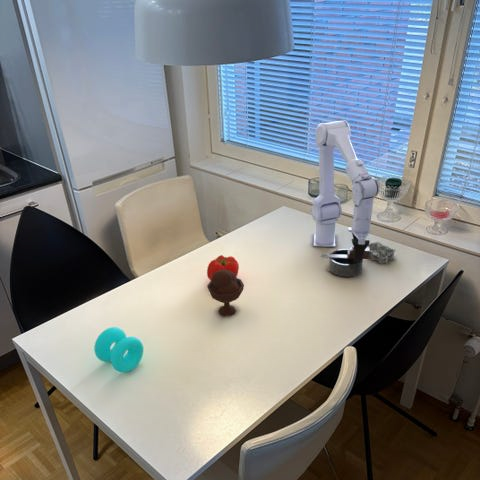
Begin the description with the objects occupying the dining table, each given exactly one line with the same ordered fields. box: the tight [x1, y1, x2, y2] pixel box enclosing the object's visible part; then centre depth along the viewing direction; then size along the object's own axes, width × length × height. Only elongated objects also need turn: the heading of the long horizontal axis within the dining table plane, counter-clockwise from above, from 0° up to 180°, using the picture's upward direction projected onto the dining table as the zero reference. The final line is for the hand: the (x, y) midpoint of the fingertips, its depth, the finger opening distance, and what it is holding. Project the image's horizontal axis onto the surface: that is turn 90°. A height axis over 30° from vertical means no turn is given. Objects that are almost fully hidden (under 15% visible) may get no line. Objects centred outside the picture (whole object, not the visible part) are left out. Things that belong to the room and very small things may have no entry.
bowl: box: [328, 248, 364, 278], centre depth 170 cm, size 11×11×5 cm
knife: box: [320, 246, 370, 260], centre depth 167 cm, size 16×2×3 cm, turn 82°
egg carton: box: [367, 241, 397, 264], centre depth 176 cm, size 11×8×4 cm
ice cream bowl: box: [206, 270, 245, 317], centre depth 149 cm, size 11×11×15 cm
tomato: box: [206, 254, 240, 281], centre depth 165 cm, size 11×11×9 cm
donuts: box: [93, 326, 144, 373], centre depth 133 cm, size 10×10×10 cm
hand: (357, 253), depth 167 cm, fingers open, 6 cm apart
